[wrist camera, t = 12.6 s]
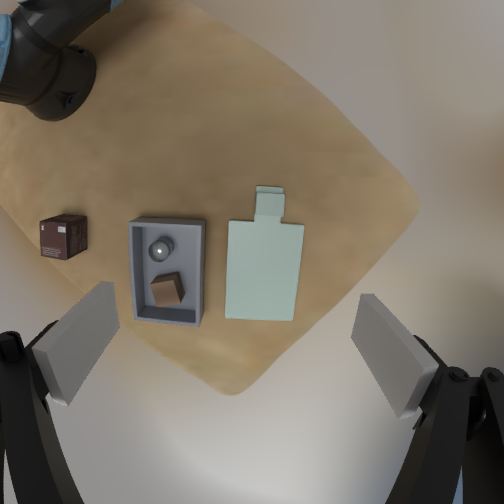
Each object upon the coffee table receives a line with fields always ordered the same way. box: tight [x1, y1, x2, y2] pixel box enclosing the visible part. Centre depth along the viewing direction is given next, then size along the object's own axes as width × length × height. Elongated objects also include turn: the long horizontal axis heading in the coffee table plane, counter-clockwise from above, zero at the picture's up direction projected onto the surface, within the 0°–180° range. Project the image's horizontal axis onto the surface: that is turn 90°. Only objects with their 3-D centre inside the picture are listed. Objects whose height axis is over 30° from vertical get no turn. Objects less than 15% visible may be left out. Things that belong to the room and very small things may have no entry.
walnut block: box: [150, 272, 185, 307], centre depth 44 cm, size 4×4×4 cm
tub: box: [129, 217, 206, 327], centre depth 44 cm, size 16×11×5 cm
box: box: [40, 214, 87, 260], centre depth 41 cm, size 6×6×7 cm
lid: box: [225, 186, 304, 321], centre depth 45 cm, size 22×12×4 cm, turn 176°
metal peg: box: [148, 237, 174, 262], centre depth 43 cm, size 3×3×4 cm
